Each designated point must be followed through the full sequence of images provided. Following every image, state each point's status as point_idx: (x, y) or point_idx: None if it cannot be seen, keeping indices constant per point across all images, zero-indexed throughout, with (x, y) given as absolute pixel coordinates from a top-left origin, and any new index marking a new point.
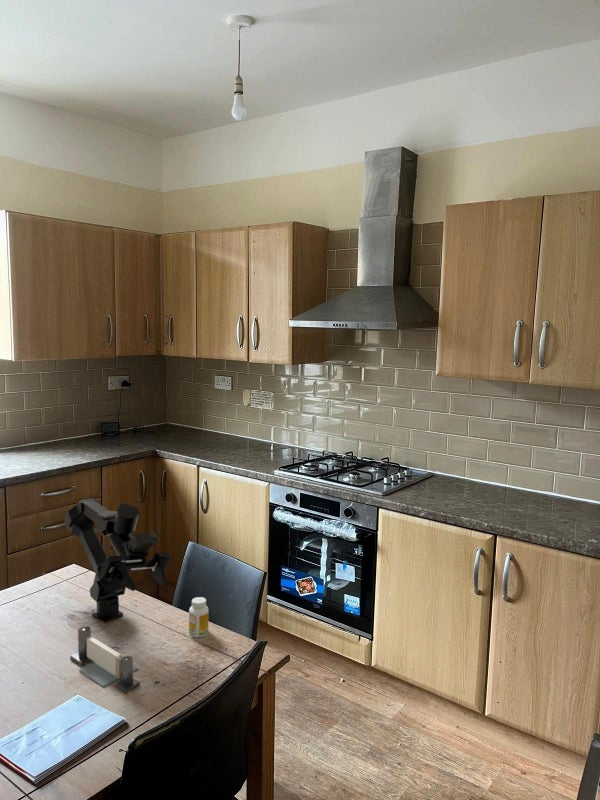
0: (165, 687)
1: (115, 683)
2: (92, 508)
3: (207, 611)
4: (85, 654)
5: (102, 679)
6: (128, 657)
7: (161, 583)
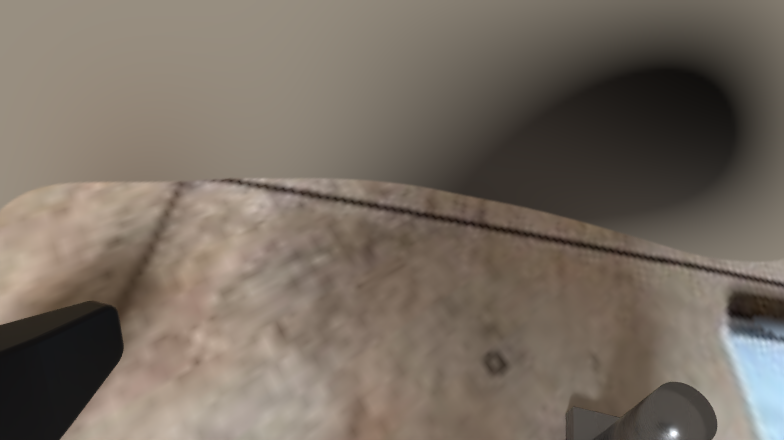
0: (500, 312)
1: None
2: None
3: None
4: None
5: None
6: (673, 418)
7: (58, 405)
